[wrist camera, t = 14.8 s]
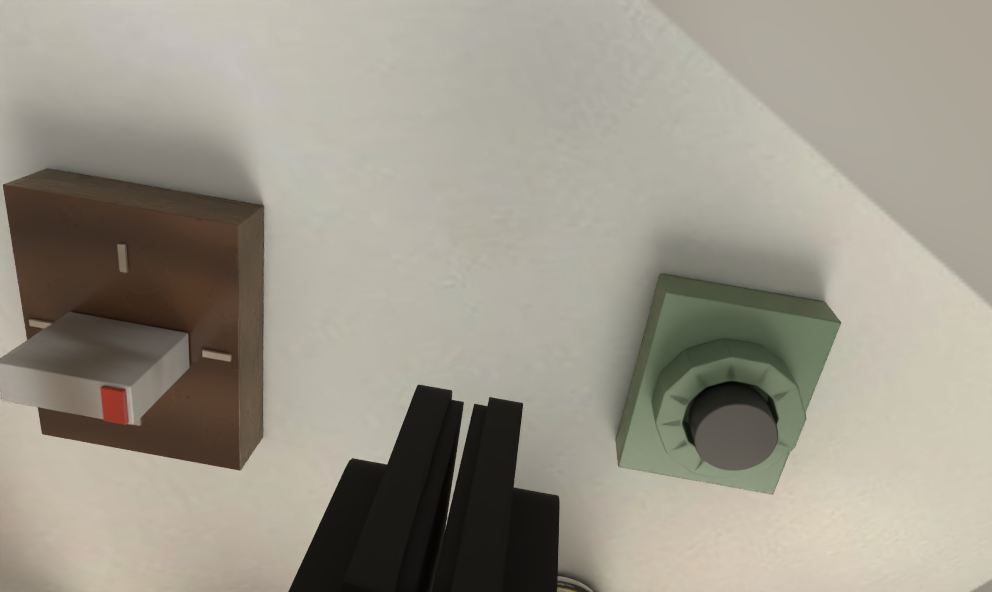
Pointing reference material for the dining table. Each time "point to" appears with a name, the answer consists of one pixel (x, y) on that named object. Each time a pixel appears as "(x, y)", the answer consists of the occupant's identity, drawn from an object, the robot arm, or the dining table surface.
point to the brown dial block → (151, 301)
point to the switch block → (721, 373)
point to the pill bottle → (571, 585)
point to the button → (732, 427)
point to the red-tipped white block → (95, 367)
